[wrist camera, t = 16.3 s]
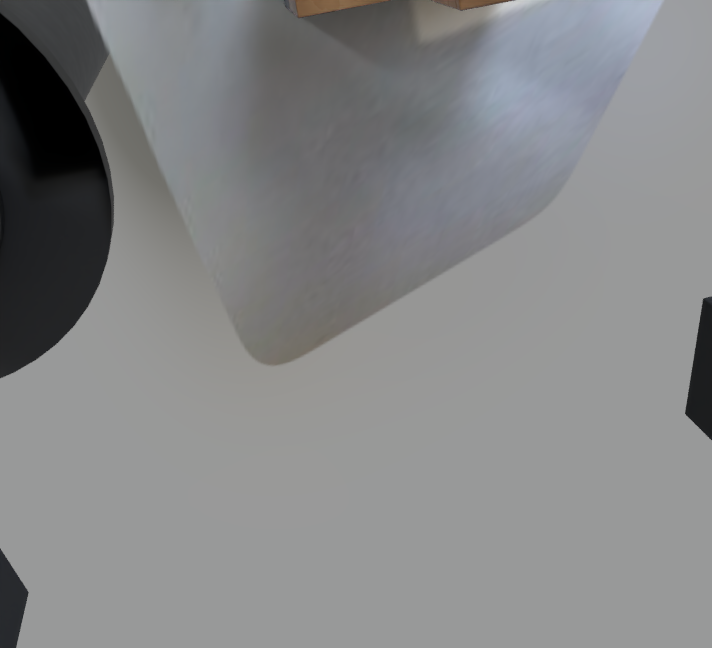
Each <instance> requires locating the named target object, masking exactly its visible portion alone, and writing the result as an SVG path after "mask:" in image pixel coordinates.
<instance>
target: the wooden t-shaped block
mask: <svg viewBox="0 0 712 648" xmlns="http://www.w3.org/2000/svg"><path fill="white" fill-rule="evenodd" d="M385 1H390V0H284V2H285V6H286V7H287V8H288V9H289V10H290V11H291V12H292V13H293V14H294V15H296V16H297V17H298V18H301V17H307V16H312V15H317V14H322V13H328V12H333V11H338V10H343V9H349V8H354V7H359V6H364V5H369V4H375V3H380V2H385ZM431 1H434V2H437V3H440V4H443V5H446V6H449V7H452V8H455V9H458V10H461V11H462V10H467V9H473V8H478V7H483V6H488V5H493V4H498V3H503V2H508V1H514V0H431Z"/></svg>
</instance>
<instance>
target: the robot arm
mask: <svg viewBox="0 0 712 648" xmlns="http://www.w3.org/2000/svg"><path fill="white" fill-rule="evenodd" d="M4 226H5V214H4V204H3V198H2V194H1V190H0V249H1V245H2V241H3V236H4ZM685 414H686V415H687V416H688V417H689V418H690V419H691V420H692V421H693V422H694V423H695V424H696V425H697V426H698V427H699V428H700V429H701V430H702V431H703V432H704V433H705V434H706V435H707V436H708V437H709V438H710V439H711V440H712V297H708V298H704V299H703V304H702V310H701V316H700V323H699V329H698V335H697V342H696V348H695V354H694V361H693V367H692V373H691V380H690V386H689V392H688V399H687V405H686V412H685ZM27 597H28V591H27V589H26V588H25V586H24V585H23V583H22V582H21V580H20V578H19V577H18V575H17V574H16V572H15V571H14V569H13V568H12V566H11V564H10V563H9V561H8V560H7V558H6V557H5V555H4V554H3V552H2V551H1V549H0V648H16V645H17V641H18V636H19V632H20V627H21V623H22V619H23V614H24V610H25V606H26V601H27Z"/></svg>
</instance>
